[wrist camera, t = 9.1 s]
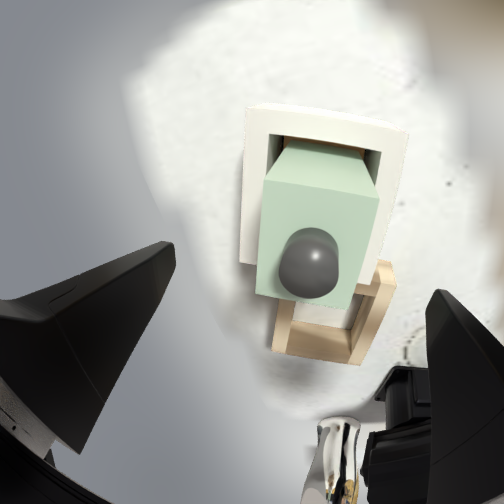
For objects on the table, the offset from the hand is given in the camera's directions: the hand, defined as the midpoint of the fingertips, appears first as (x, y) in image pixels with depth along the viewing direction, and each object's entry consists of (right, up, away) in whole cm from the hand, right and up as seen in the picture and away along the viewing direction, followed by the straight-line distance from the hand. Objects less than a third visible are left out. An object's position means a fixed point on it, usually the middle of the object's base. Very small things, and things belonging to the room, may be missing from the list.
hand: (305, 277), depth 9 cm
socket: (+3, +6, +10) cm, 12 cm away
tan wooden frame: (+5, -3, +15) cm, 16 cm away
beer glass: (+10, -23, +26) cm, 36 cm away
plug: (+2, +5, +8) cm, 10 cm away
